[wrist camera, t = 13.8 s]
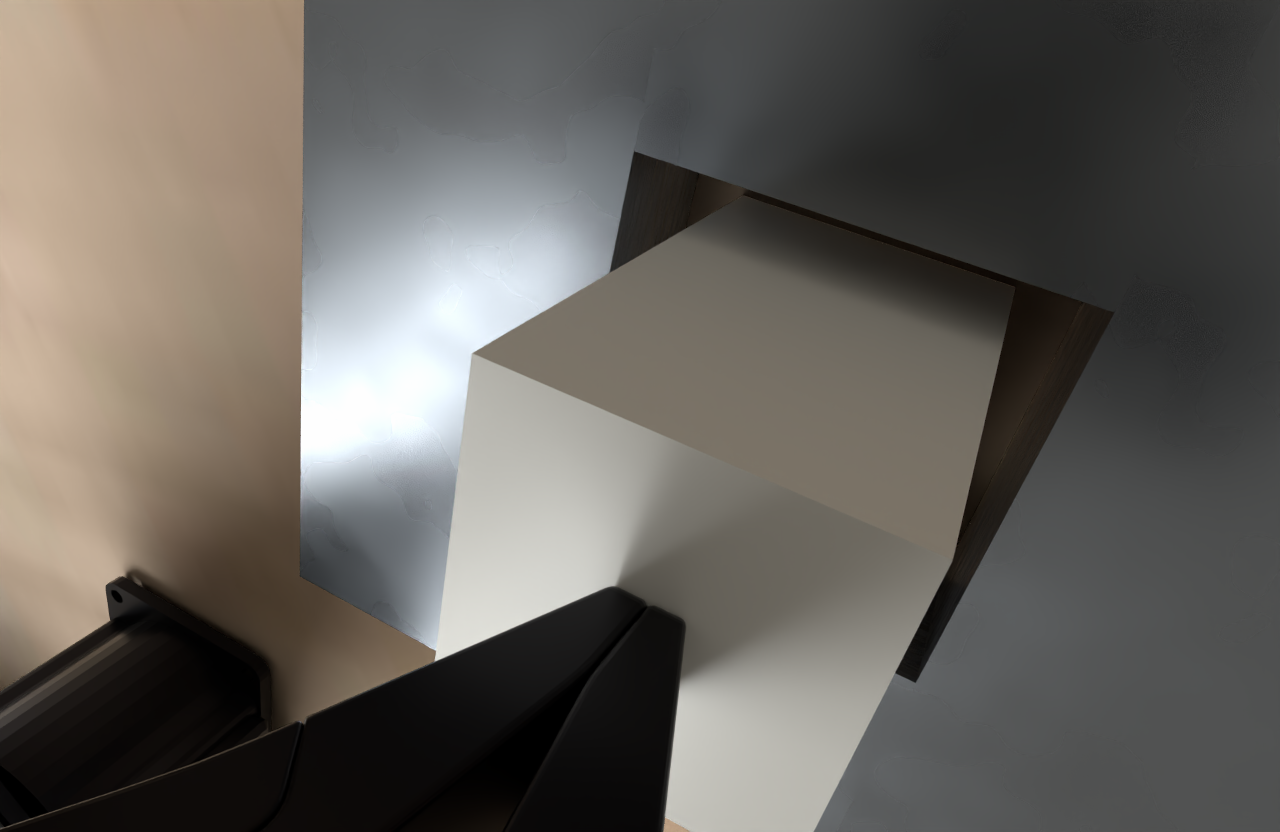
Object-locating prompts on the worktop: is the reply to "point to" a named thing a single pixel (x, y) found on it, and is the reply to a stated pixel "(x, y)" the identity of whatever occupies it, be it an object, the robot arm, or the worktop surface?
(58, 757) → the robot arm
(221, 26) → the worktop surface
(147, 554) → the worktop surface
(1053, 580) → the jig plate
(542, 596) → the white rectangular block
